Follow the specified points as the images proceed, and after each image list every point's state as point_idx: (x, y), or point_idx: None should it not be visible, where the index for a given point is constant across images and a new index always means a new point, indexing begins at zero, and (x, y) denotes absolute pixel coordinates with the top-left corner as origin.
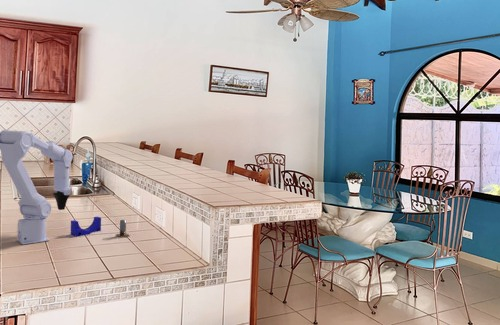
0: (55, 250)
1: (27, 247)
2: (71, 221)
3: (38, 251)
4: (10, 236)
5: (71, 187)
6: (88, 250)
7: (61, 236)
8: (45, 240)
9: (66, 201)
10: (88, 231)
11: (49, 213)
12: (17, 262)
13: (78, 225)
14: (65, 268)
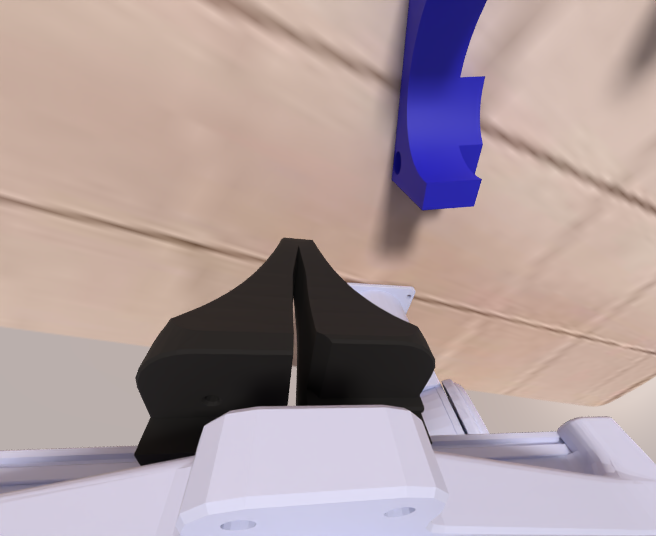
0: (518, 305)
1: None
2: (429, 208)
3: (479, 336)
4: None
5: (404, 504)
6: (632, 232)
7: (388, 227)
8: (411, 300)
9: (343, 280)
10: (481, 92)
11: (463, 388)
12: (503, 378)
13: (465, 168)
14: (642, 331)
